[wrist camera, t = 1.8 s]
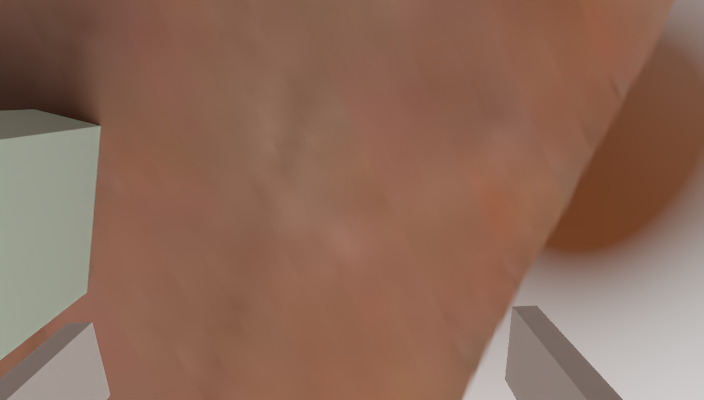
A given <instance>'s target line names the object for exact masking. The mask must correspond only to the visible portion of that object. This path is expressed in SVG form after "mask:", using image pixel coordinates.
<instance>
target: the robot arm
mask: <svg viewBox="0 0 704 400" xmlns="http://www.w3.org/2000/svg"><path fill="white" fill-rule="evenodd" d="M505 380H506V382H507V383H508V385H509V387H510V388H511V390H512V392H513V394H514V396H515V397H516V399H517V400H622V398H621V397H620V396H619V395H618V394H617V393H616V392H615V391H614V390H613V388H611V386H610V385H609V384H608V383H607V382H606V381H605V380H604V379H603V378H602V376H601V375H600V374H599V373H598V372H597V371H596V370H595V369H594V368H593V367H592V366H591V365H590V363H589V362H588V361H587V360H586V359H585V358H584V357H583V356H582V355H581V354H580V353H579V351H577V349H576V348H575V347H574V346H573V345H572V344H571V343H570V342H569V341H568V340H567V338H566V337H565V336H564V335H563V334H562V333H561V332H560V331H559V330H558V329H557V327H556V326H555V325H554V324H553V323H552V322H551V321H550V320H549V319H548V318H547V317H546V315H545V314H544V313H543V312H542V311H541V310H540V309H539V308H538V307H537V306H518V307H512V317H511V327H510V338H509V347H508V357H507V367H506V376H505ZM109 396H110V392H109V388H108V384H107V380H106V376H105V372H104V368H103V364H102V360H101V356H100V352H99V348H98V344H97V340H96V336H95V331H94V327H93V323H92V322H84V323H67V324H66V325H64V326H63V327H62V328H61V329H60V330H58V331H57V332H56V333H55V334H54V335H52V336H51V337H50V338H49V339H47V340H46V341H45V342H44V343H43V344H41V345H40V346H39V347H38V348H37V349H35V350H34V351H33V352H32V353H31V354H29V355H28V356H27V357H26V358H25V359H23V360H22V361H21V362H20V363H19V364H17V365H16V366H15V367H14V368H12V369H11V370H10V371H9V372H8V373H6V374H5V375H4V376H3V377H2V378H0V400H107V399H108V397H109Z"/></svg>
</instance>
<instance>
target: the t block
mask: <svg viewBox="0 0 704 400" xmlns="http://www.w3.org/2000/svg"><path fill="white" fill-rule="evenodd" d="M100 130H101V126H99V125H95V124H91V123H87V122H83V121H79V120H75V119H71V118H67V117H63V116H60V115H56V114H52V113H48V112H44V111H40V110H36V109H26V110H7V111H0V360H1V359H2V358H4V357H5V356H6V355H7V354H9V353H10V352H11V351H12V350H14V349H15V348H16V347H18V346H19V345H20V344H21V343H23V342H24V341H25V340H27V339H28V338H29V337H30V336H32V335H33V334H34V333H36V332H37V331H38V330H39V329H41V328H42V327H43V326H44V325H46V324H47V323H48V322H50V321H51V320H52V319H53V318H55V317H56V316H57V315H59V314H60V313H61V312H62V311H64V310H65V309H66V308H68V307H69V306H70V305H71V304H73V303H74V302H75V301H76V300H78V299H79V298H80V297H82V296H83V295H84V294H85V293H87V288H88V275H89V263H90V251H91V239H92V227H93V215H94V203H95V191H96V178H97V166H98V154H99V142H100Z"/></svg>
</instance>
